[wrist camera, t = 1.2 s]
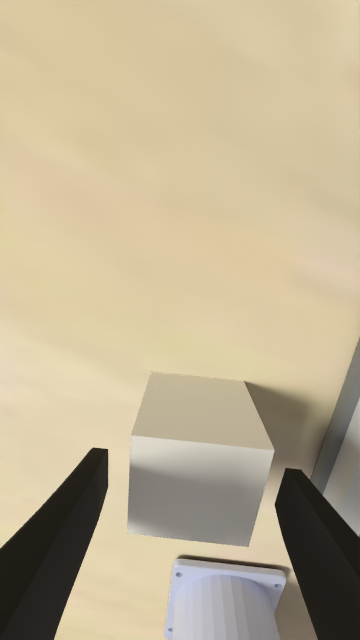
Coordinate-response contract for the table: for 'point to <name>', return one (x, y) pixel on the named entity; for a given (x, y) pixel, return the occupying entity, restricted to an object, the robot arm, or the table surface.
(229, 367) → the table surface
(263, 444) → the block
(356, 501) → the rail mount
